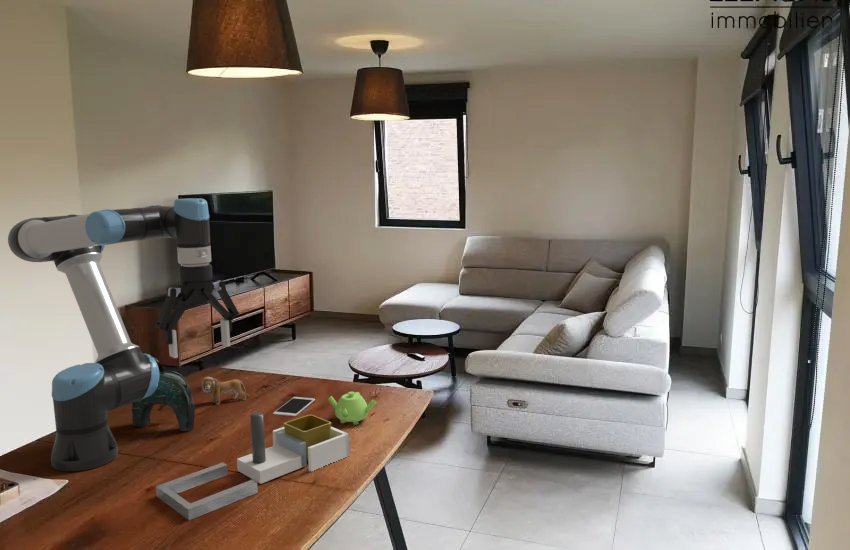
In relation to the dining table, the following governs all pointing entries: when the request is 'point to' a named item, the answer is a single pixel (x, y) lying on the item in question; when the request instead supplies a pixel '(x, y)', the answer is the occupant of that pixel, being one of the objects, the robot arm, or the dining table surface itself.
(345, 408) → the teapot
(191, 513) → the rail base
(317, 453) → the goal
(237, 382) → the lion figurine
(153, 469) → the dining table surface
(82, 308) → the robot arm
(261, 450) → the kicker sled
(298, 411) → the smartphone
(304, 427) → the flower pot
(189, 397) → the teal arched figure
